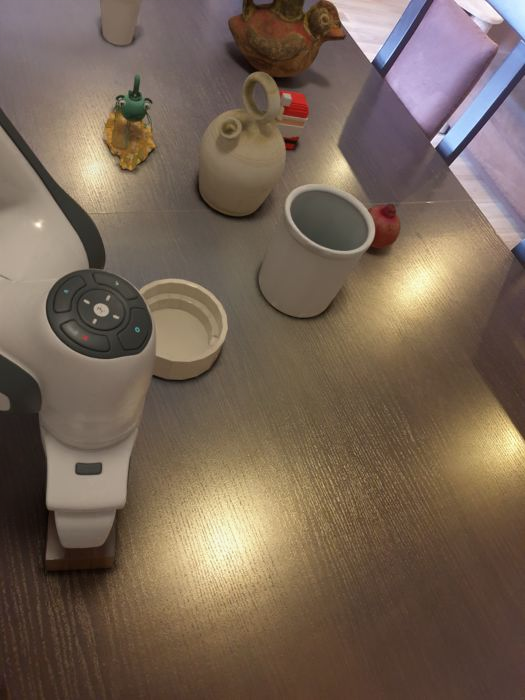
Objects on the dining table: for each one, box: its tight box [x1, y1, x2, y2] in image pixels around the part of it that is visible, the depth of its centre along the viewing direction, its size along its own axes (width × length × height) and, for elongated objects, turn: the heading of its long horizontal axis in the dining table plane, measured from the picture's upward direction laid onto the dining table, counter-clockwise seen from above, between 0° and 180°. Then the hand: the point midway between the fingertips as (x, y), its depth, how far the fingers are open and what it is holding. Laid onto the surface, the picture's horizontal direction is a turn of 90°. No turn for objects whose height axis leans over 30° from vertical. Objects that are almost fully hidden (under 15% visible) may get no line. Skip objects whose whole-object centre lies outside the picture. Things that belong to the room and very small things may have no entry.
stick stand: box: [44, 510, 117, 572], centre depth 68 cm, size 7×12×6 cm, turn 6°
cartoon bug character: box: [103, 74, 156, 171], centre depth 103 cm, size 10×18×15 cm, turn 5°
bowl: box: [138, 278, 229, 381], centre depth 85 cm, size 15×15×6 cm
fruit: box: [367, 203, 401, 249], centre depth 109 cm, size 8×8×10 cm
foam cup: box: [99, 0, 143, 46], centre depth 119 cm, size 10×9×13 cm
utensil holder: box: [258, 183, 375, 319], centre depth 94 cm, size 15×15×18 cm
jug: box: [198, 71, 287, 217], centre depth 98 cm, size 15×16×25 cm
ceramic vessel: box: [227, 0, 347, 78], centre depth 125 cm, size 17×26×25 cm, turn 77°
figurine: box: [262, 89, 310, 150], centre depth 117 cm, size 8×7×12 cm
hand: (86, 464), depth 62 cm, fingers open, 4 cm apart
